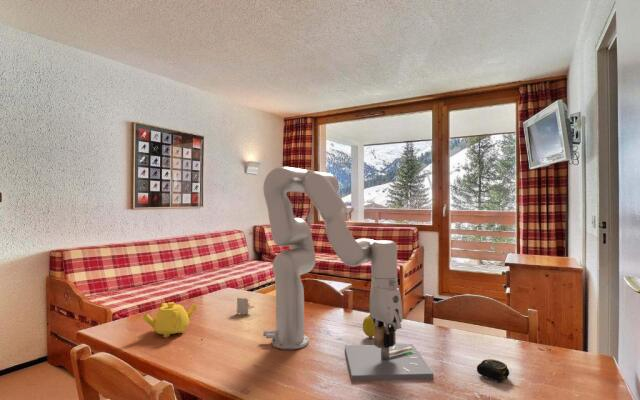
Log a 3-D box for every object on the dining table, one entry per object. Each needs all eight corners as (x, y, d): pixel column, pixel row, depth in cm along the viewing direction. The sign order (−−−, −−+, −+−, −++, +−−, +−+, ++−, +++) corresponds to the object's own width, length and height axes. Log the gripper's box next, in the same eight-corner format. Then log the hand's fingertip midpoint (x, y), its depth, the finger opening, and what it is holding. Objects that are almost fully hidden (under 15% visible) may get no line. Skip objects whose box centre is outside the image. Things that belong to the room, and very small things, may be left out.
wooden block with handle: (379, 361, 104) (378, 330, 104) (374, 357, 106) (374, 328, 106) (413, 351, 110) (413, 323, 110) (408, 349, 112) (408, 321, 112)
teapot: (149, 347, 120) (149, 313, 120) (135, 333, 134) (135, 303, 134) (207, 332, 133) (206, 302, 133) (188, 320, 147) (188, 293, 147)
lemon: (378, 341, 123) (378, 318, 123) (362, 340, 124) (361, 317, 124) (378, 335, 128) (378, 313, 128) (363, 334, 129) (363, 312, 129)
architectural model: (241, 312, 158) (241, 295, 158) (254, 314, 155) (254, 297, 155) (236, 314, 155) (236, 297, 155) (250, 316, 152) (249, 299, 152)
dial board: (351, 381, 96) (351, 375, 96) (344, 350, 116) (344, 345, 116) (433, 379, 96) (433, 373, 96) (412, 348, 116) (412, 343, 116)
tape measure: (475, 376, 98) (475, 362, 98) (489, 369, 102) (489, 356, 102) (499, 386, 93) (499, 372, 93) (513, 379, 96) (513, 365, 96)
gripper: (413, 286, 101) (414, 351, 101) (376, 276, 115) (377, 333, 115) (393, 289, 97) (394, 357, 97) (357, 279, 111) (358, 338, 111)
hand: (385, 344), depth 106 cm, fingers closed on wooden block with handle, 2 cm apart
